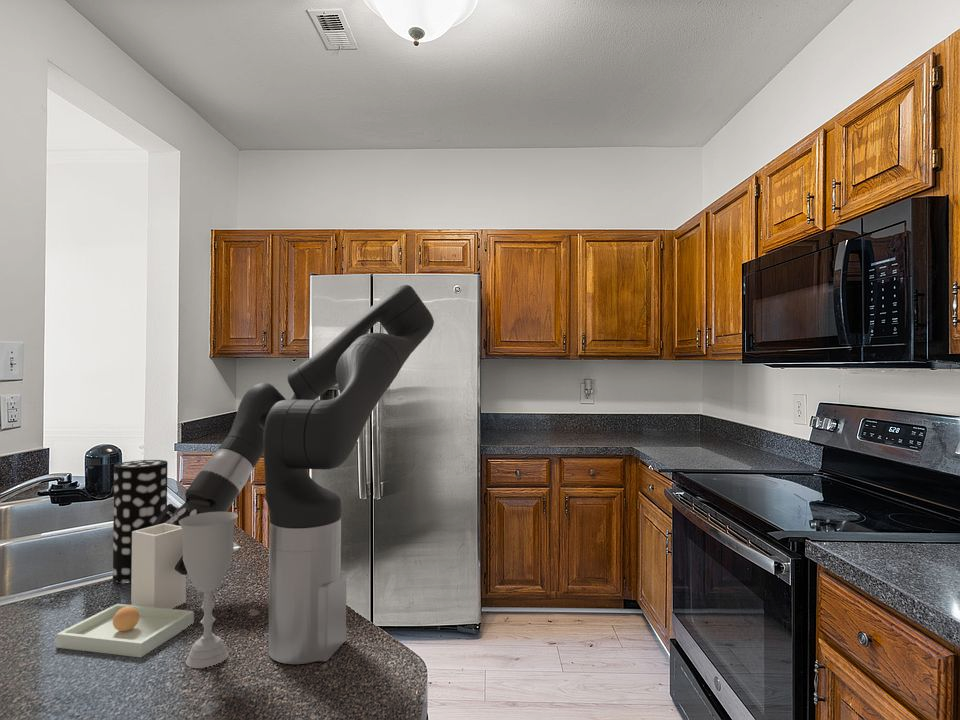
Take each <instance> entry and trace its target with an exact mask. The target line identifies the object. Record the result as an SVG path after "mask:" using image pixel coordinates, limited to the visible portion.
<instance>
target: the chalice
mask: <svg viewBox="0 0 960 720" xmlns="http://www.w3.org/2000/svg"><path fill="white" fill-rule="evenodd" d="M238 517H239V515H238V513H236V512H232V511H227V512H207V513H200V514H195V515H191V516H188V517H185V518H183V519H181V520H180V521H179V524H180V526H181V528H182V529H183V562H184V565H185V567H186V570H187V575H188V578H189V579H190V580H191V583H192V584H193V586H194V588H195V590H196V591H198V592H202V593H203V596H204V598H203V602H202V605H201V609H202V610H203V617H202V619H201V620H200V624H202V626H203V634H202V635H201V637H199V638H197V639H196V640H195V641H194V643H192V646H191V649H190V651H189V653H188V657H187V658H186V660H185V665H186V666H188V667H189V668H193V669H204V668H205V667H207V668H210V667H209V666H211V667H213V665H215V666H217V665H219V664H218V663H220V664H221V663H223V662H224V660H225V661H227V660H226V659H228V658H229V655H230V654H229V651H228V650H227V649H226V648H227V647H226V645H225V644H224V640H223V639H222V638H221V637H220V636H218V635H216V634H215V633H213V629H212V627H213V623H214V622H215V621H216V618H215V617H214V616H213V608H214V607H215V605H216V604H215V603H214V601H213V597H212V596H213V593H214V591H215V590H217V589H219V587H220V586H221V584H222V582H223V581H224V578H225V576H226V574H227V572H228V569H229V567H230V565H231V561H232V558H233V555H234V552H235V551H234V545H235V544H234V541H235V539H234V537H235V536H234V534H235V530H234V529H235V528H234V526H235V523H236V521H237V519H238ZM222 661H223V662H222ZM216 664H217V665H216ZM205 669H206V668H205Z"/></svg>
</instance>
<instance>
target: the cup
mask: <svg viewBox="0 0 960 720" xmlns="http://www.w3.org/2000/svg"><path fill="white" fill-rule="evenodd" d="M182 555H183V529H182V528H181V526H177V525H175V524H174V525H171V524H166V523H163V524H159V525H155V526H151V527H148V528H144V529H140V530H136V531H132V578H131V584H130V586H131V590H130V591H131V593H130V595H131V597H130V599H131V600H130V605H137V606H147V607H157V608H167V609H171V608H172V609H174V608H173V607H175V608H177V607H179V606H178V605H180V606H182V605H184V604H183V603H185V604H186V603H187V574H186V575H182V574H180V573H178V572H177V571H176V570H175V566H176V564H177V563H178V561H179V560H180V558H181V557H182ZM181 604H182V605H181ZM176 606H177V607H176Z"/></svg>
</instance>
